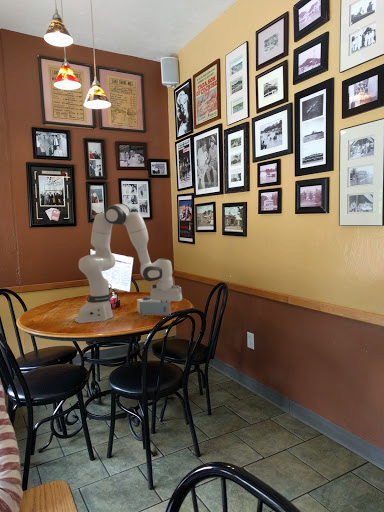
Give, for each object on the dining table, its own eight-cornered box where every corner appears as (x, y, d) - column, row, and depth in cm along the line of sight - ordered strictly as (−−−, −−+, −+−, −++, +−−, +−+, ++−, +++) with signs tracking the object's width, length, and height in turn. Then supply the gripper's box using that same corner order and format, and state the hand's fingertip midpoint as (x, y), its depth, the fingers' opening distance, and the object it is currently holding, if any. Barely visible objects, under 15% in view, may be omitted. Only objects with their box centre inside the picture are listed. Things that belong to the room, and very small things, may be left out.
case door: (139, 314, 218) (138, 302, 217) (141, 313, 220) (140, 301, 219) (169, 316, 212) (168, 303, 211) (170, 315, 214) (169, 302, 213)
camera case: (141, 314, 220) (140, 299, 219) (137, 311, 227) (136, 296, 226) (161, 311, 225) (160, 296, 224) (157, 308, 232) (156, 294, 231)
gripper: (183, 284, 212) (184, 307, 214) (153, 283, 221) (155, 305, 222) (178, 286, 207) (179, 309, 208) (148, 285, 215) (149, 307, 217)
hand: (166, 307), depth 215 cm, fingers closed
